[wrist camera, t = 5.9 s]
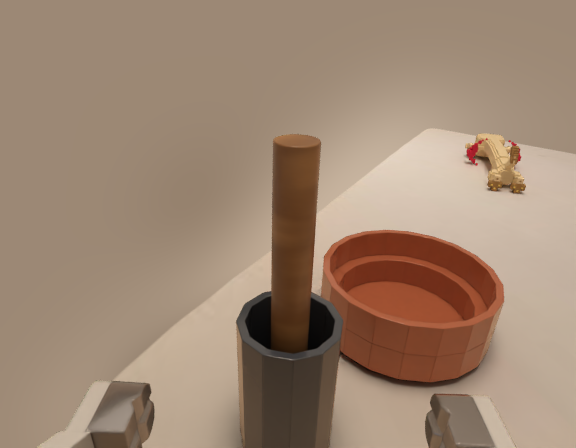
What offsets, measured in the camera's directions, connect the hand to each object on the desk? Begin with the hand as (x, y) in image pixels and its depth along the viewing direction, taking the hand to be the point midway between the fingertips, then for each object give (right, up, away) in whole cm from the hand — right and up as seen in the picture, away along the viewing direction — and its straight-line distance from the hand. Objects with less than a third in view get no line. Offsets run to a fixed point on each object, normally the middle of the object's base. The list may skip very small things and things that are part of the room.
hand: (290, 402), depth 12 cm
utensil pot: (0, -9, +16) cm, 19 cm away
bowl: (+11, -4, +27) cm, 29 cm away
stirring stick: (0, -9, +16) cm, 18 cm away
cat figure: (+41, +16, +69) cm, 82 cm away
